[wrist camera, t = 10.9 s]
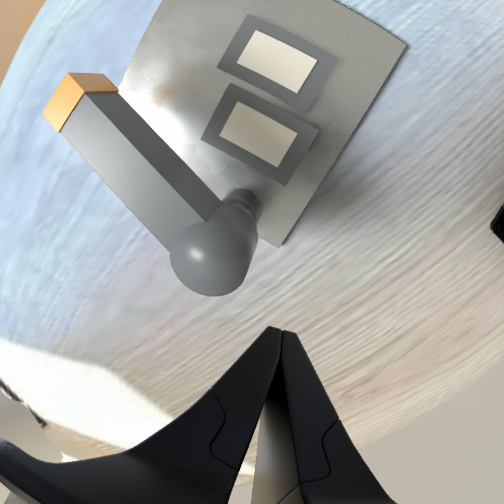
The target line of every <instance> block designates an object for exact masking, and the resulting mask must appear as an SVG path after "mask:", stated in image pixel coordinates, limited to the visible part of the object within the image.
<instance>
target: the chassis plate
mask: <svg viewBox="0 0 504 504" xmlns="http://www.w3.org/2000/svg"><path fill="white" fill-rule="evenodd" d="M247 14H250V15H252V16H254V17H257V18H259V19H262V20H264V21H266V22H268V23H271V24H273V25H275V26H277V27H279V28H282V29H284V30H286V31H288V32H290V33H292V34H294V35H296V36H298V37H300V38H302V39H304V40H306V41H308V42H310V43H312V44H314V45H316V46H317V47H319V48H321V49H323V50H325V51H327V52H328V53H330V54H332V55H334V56H335V57H337V58H339V59H338V61H337V63H336V64H335V66H334V67H333V69H332V71H331V72H330V74H329V76H328V77H327V79H326V81H325V82H324V84H323V85H322V87H321V89H320V90H319V92H318V94H317V95H316V97H315V99H314V100H313V102H312V104H311V105H310V107H309V109H308V110H307V112H306V113H304V112H302V111H300V110H299V109H297V108H295V107H293V106H292V105H290V104H288V103H286V102H284V101H282V100H281V99H279V98H277V97H275V96H273V95H271V94H269V93H267V92H265V91H264V90H262V89H260V88H258V87H256V86H254V85H252V84H250V83H248V82H246V81H244V80H241V79H239V78H237V77H235V76H233V75H231V74H229V73H227V72H224V71H222V70H220V69H218V68H216V67H217V65H218V63H219V62H220V60H221V58H222V56H223V54H224V53H225V51H226V49H227V47H228V46H229V44H230V42H231V41H232V39H233V37H234V35H235V34H236V32H237V30H238V29H239V27H240V25H241V24H242V22H243V21H244V19H245V17H246V16H247ZM405 47H406V44H405V43H403V42H402V41H400V40H399V39H397V38H396V37H394V36H393V35H391V34H390V33H388V32H387V31H385V30H384V29H382V28H381V27H379V26H377V25H376V24H374V23H373V22H371V21H369V20H368V19H366V18H364V17H362V16H361V15H359V14H357V13H356V12H354V11H352V10H350V9H348V8H347V7H345V6H343V5H341V4H339V3H337V2H335V1H333V0H162V2H161V4H160V5H159V7H158V9H157V11H156V12H155V14H154V16H153V18H152V20H151V22H150V23H149V25H148V27H147V29H146V31H145V33H144V35H143V37H142V39H141V41H140V43H139V45H138V47H137V49H136V51H135V53H134V55H133V57H132V60H131V62H130V64H129V66H128V68H127V70H126V73H125V75H124V77H123V80H122V82H121V84H120V87H119V92H118V93H119V94H120V95H121V96H122V97H123V98H124V99H125V100H126V101H127V102H128V103H129V104H130V105H131V106H132V107H133V109H134V110H135V111H136V112H137V113H138V114H139V115H140V116H141V117H142V118H143V119H144V120H145V121H146V122H147V123H148V124H149V125H150V126H151V127H152V128H153V129H154V130H155V131H156V133H157V134H158V135H159V136H160V137H161V138H162V139H163V140H164V141H165V142H166V143H167V144H168V145H169V146H170V147H171V148H172V149H173V150H174V151H175V152H176V153H177V155H178V156H179V157H180V158H181V159H182V160H183V161H184V162H185V163H186V164H187V165H188V166H189V167H190V168H191V169H192V170H193V171H194V172H195V174H196V175H197V176H198V177H199V178H200V179H201V180H202V181H203V182H204V183H205V184H206V185H207V186H208V187H209V188H210V189H211V191H212V192H213V193H214V194H215V195H216V196H217V197H218V198H219V199H220V200H221V201H222V202H223V203H230V204H234V205H236V206H238V207H240V208H242V209H243V210H245V211H246V212H247V213H248V214H249V215H250V216H251V218H252V219H253V221H254V223H255V225H256V228H257V232H258V237H260V238H262V239H264V240H265V241H267V242H269V243H271V244H272V245H274V246H276V247H278V248H279V247H280V245H281V244H282V242H283V241H284V239H285V238H286V236H287V235H288V233H289V232H290V230H291V229H292V227H293V225H294V224H295V222H296V221H297V219H298V218H299V216H300V215H301V213H302V212H303V210H304V208H305V207H306V205H307V204H308V202H309V201H310V199H311V198H312V196H313V195H314V193H315V191H316V190H317V188H318V187H319V185H320V184H321V182H322V180H323V179H324V177H325V176H326V174H327V173H328V171H329V169H330V168H331V166H332V165H333V163H334V162H335V160H336V158H337V157H338V155H339V154H340V152H341V151H342V149H343V147H344V146H345V144H346V143H347V141H348V139H349V138H350V136H351V135H352V133H353V131H354V130H355V128H356V127H357V125H358V123H359V122H360V120H361V119H362V117H363V115H364V114H365V112H366V111H367V109H368V107H369V106H370V104H371V102H372V101H373V99H374V98H375V96H376V94H377V93H378V91H379V89H380V88H381V86H382V85H383V83H384V81H385V80H386V78H387V76H388V75H389V73H390V71H391V70H392V68H393V67H394V65H395V63H396V62H397V60H398V58H399V57H400V55H401V53H402V52H403V50H404V48H405ZM229 83H232V84H234V85H236V86H238V87H240V88H242V89H244V90H246V91H248V92H250V93H252V94H254V95H256V96H258V97H260V98H262V99H264V100H266V101H268V102H269V103H271V104H273V105H275V106H277V107H279V108H281V109H282V110H284V111H286V112H288V113H290V114H291V115H293V116H295V117H297V118H298V119H300V120H302V121H304V122H305V123H307V124H309V125H310V126H312V127H314V128H316V129H317V130H319V132H318V134H317V135H316V137H315V139H314V140H313V142H312V144H311V145H310V147H309V148H308V150H307V152H306V153H305V155H304V157H303V158H302V160H301V162H300V163H299V165H298V166H297V168H296V170H295V171H294V173H293V175H292V176H291V178H290V180H289V181H288V183H287V185H286V186H284V185H282V184H280V183H278V182H277V181H275V180H273V179H271V178H270V177H268V176H266V175H264V174H263V173H261V172H259V171H257V170H256V169H254V168H252V167H250V166H248V165H247V164H245V163H243V162H241V161H239V160H237V159H236V158H234V157H232V156H230V155H228V154H226V153H225V152H223V151H221V150H219V149H217V148H215V147H213V146H211V145H209V144H207V143H206V142H204V141H202V140H200V139H201V137H202V135H203V133H204V131H205V129H206V127H207V125H208V123H209V121H210V119H211V117H212V115H213V113H214V111H215V109H216V107H217V105H218V103H219V102H220V100H221V98H222V96H223V94H224V92H225V90H226V88H227V87H228V85H229Z"/></svg>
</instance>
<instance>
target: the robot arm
mask: <svg viewBox="0 0 504 504" xmlns="http://www.w3.org/2000/svg"><path fill="white" fill-rule="evenodd" d="M497 224H498V226H497V228H496V229H495V227H496V225H497ZM490 229H491V231H492V232H493V233H494V234H495V235H496V236H497V237H498V238H499V239H500V240H501V241H502V242H503V243H504V204H503V206H502V207H501V209H500V210H499V212H498V213H497V215H496V216H495V218H494V219H493V221H492V222H491V224H490ZM260 415H261V418H260ZM259 418H260V428H259V437H258V446H257V456H256V465H255V473H254V482H253V491H252V500H251V504H397V503H396V502H395V501H393V500H392V499H391V498H390V497H389V496H388V495H387V493H386V492H385V491H384V489H383V488H382V487H381V485H380V484H379V482H378V481H377V479H376V478H375V476H374V475H373V473H372V472H371V470H370V469H369V467H368V466H367V464H366V463H365V462H364V460H363V459H362V457H361V455H360V454H359V452H358V451H357V449H356V447H355V446H354V444H353V443H352V441H351V439H350V437H349V435H348V433H347V432H346V430H345V428H344V426H343V424H342V422H341V420H340V419H339V416H338V414H337V412H336V410H335V408H334V406H333V404H332V403H331V401H330V399H329V397H328V395H327V393H326V391H325V389H324V387H323V385H322V383H321V381H320V379H319V377H318V375H317V373H316V371H315V369H314V367H313V365H312V363H311V361H310V359H309V357H308V355H307V353H306V351H305V349H304V347H303V345H302V344H301V342H300V340H299V338H298V336H297V334H296V333H294V332H290V331H287V330H283V331H282V330H281V329H279V328H275V327H272V326H268V327H267V328H266V329H265V330H264V331H263V332H262V333H261V335H260V336H259V337H258V338H257V339H256V340H255V341H254V342H253V343H252V344H251V345H250V347H249V348H248V349H247V350H246V351H245V352H244V353H243V354H242V355H241V356H240V357H239V358H238V360H237V361H236V362H235V363H234V364H233V365H232V366H231V367H230V368H229V369H228V370H227V371H226V372H225V373H224V374H223V375H222V376H221V378H220V379H219V380H218V381H217V382H216V383H215V384H214V385H213V386H212V387H211V388H210V389H209V390H208V391H207V392H206V393H205V394H204V395H203V396H202V397H201V398H200V399H199V400H198V401H197V402H196V403H194V404H193V405H192V406H191V407H190V408H189V409H188V410H186V411H185V412H184V413H183V414H181V415H180V416H179V417H177V418H176V419H175V420H173V421H172V422H170V423H169V424H168V425H166V426H165V427H163V428H162V429H160V430H159V431H158V432H156V433H155V434H153V435H152V436H150V437H149V438H147V439H146V440H144V441H143V442H141V443H140V444H138V445H136V446H134V447H133V448H131V449H129V450H126V451H124V452H121V453H117V454H112V455H107V456H102V457H96V458H91V459H85V460H79V461H72V462H65V463H50V462H44V461H41V460H38V459H36V458H34V457H32V456H30V455H28V454H27V453H26V452H24V451H23V450H21V449H20V448H19V447H17V446H15V445H14V444H13V443H11V442H9V441H7V440H5V439H2V438H0V482H1V483H2V484H3V485H5V487H7V488H8V489H9V490H10V491H11V492H10V493H9V495H8V497H7V499H6V500H5V502H4V504H228V501H229V498H230V495H231V492H232V489H233V486H234V483H235V481H236V478H237V476H238V473H239V471H240V468H241V465H242V463H243V460H244V458H245V455H246V453H247V450H248V447H249V445H250V442H251V439H252V437H253V434H254V431H255V429H256V426H257V423H258V420H259Z"/></svg>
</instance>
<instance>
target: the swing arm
mask: <svg viewBox="0 0 504 504" xmlns="http://www.w3.org/2000/svg"><path fill="white" fill-rule="evenodd" d="M118 92H119V89H118V88H117V87H116V86H115V85H114V84H113V83H112V82H111V81H110V80H109V79H108V78H107V77H106V76H105V75H104V74H93V73H67V74H66V75H65V77H64V78H63V80H62V82H61V83H60V85H59V86H58V88H57V90H56V91H55V93H54V94H53V96H52V98H51V99H50V101H49V103H48V105H47V106H46V108H45V110H44V112H43V113H42V114H43V116H44V117H45V118H46V119H47V120H48V122H49V123H50V124H51V125H52V127H53V128H54V129H55V130H56V131H57V133H60V132H61V133H62V134H63V135H64V137H65V138H66V139H67V140H68V141H69V142H70V144H71V145H72V146H73V147H74V148H75V149H76V151H77V152H78V153H79V154H80V155H81V156H82V158H83V159H84V160H85V161H86V162H87V163H88V164H89V166H90V167H91V168H92V169H93V170H94V171H95V172H96V173H97V175H98V176H99V177H100V178H101V179H102V180H103V181H104V182H105V184H106V185H107V186H108V187H109V188H110V189H111V190H112V191H113V192H114V194H115V195H116V196H117V197H118V198H119V199H120V200H121V201H122V202H123V203H124V204H125V205H126V207H127V208H128V209H129V210H130V211H131V212H132V213H133V214H134V215H135V216H136V217H137V218H138V219H139V221H140V222H141V223H142V224H143V225H144V226H145V227H146V228H147V229H148V230H149V231H150V232H151V233H152V234H153V235H154V236H155V237H156V238H157V239H158V240H159V242H160V243H161V244H162V245H163V246H164V247H165V248H166V249H167V250H168V251H169V252H170V260H171V265H172V268H173V270H174V272H175V274H176V276H177V277H178V278H179V280H180V281H181V282H182V283H183V284H184V285H185V286H186V287H188V288H189V289H191V290H192V291H194V292H196V293H199V294H202V295H206V296H223V295H226V294H229V293H231V292H233V291H234V290H236V289H237V288H238V287H239V286H240V285H241V284H242V282H243V281H244V279H245V277H246V274H247V271H248V268H249V265H250V263H251V260H252V257H253V254H254V252H255V249H256V246H257V242H258V232H257V228H256V225H255V223H254V221H253V219H252V218H251V216H250V215H249V214H248V213H247V212H246V211H245V210H243V209H242V208H240V207H238V206H236V205H234V204H230V203H223V202H222V201H221V200H220V199H219V198H218V197H217V196H216V195H215V194H214V193H213V192H212V191H211V189H210V188H209V187H208V186H207V185H206V184H205V183H204V182H203V181H202V180H201V179H200V178H199V177H198V176H197V175H196V174H195V172H194V171H193V170H192V169H191V168H190V167H189V166H188V165H187V164H186V163H185V162H184V161H183V160H182V159H181V158H180V157H179V156H178V155H177V153H176V152H175V151H174V150H173V149H172V148H171V147H170V146H169V145H168V144H167V143H166V142H165V141H164V140H163V139H162V138H161V137H160V136H159V135H158V134H157V133H156V131H155V130H154V129H153V128H152V127H151V126H150V125H149V124H148V123H147V122H146V121H145V120H144V119H143V118H142V117H141V116H140V115H139V114H138V113H137V112H136V111H135V110H134V109H133V107H132V106H131V105H130V104H129V103H128V102H127V101H126V100H125V99H124V98H123V97H122V96H121V95H120V94H119V93H118Z"/></svg>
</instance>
